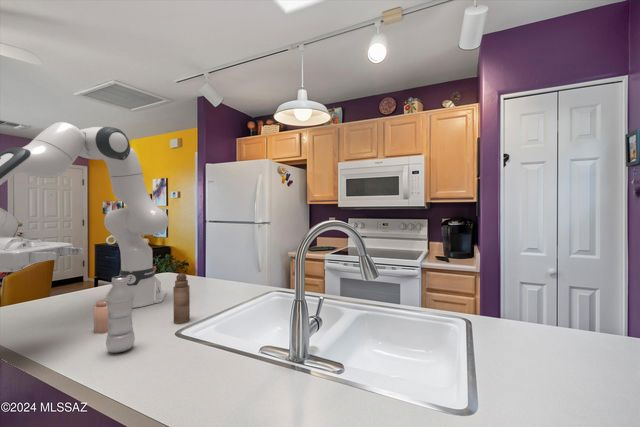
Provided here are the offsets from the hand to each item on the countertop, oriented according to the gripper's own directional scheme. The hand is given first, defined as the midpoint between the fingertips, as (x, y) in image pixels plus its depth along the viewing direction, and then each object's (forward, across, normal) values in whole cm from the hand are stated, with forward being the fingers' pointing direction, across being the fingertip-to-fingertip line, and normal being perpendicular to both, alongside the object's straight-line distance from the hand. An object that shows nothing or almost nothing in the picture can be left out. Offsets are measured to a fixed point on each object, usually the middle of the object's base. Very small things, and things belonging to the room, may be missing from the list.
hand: (69, 253), depth 79 cm
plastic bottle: (+12, 0, +27) cm, 30 cm away
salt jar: (0, +16, +26) cm, 31 cm away
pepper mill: (+22, +20, +26) cm, 40 cm away
